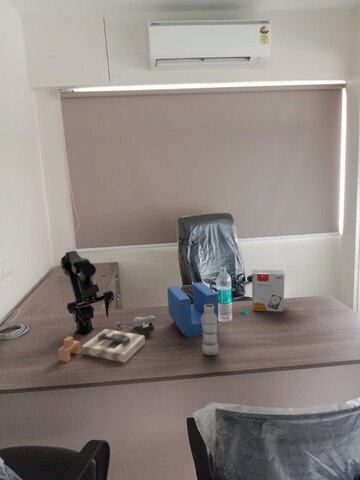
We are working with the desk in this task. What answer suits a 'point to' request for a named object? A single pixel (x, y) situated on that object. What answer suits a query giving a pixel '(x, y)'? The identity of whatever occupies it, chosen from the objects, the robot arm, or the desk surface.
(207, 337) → the plastic bottle
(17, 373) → the desk surface
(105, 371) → the desk surface
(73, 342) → the wooden cross piece
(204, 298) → the block
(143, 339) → the beige square frame
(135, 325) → the clip-on lamp
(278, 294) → the hard drive box
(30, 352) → the desk surface
